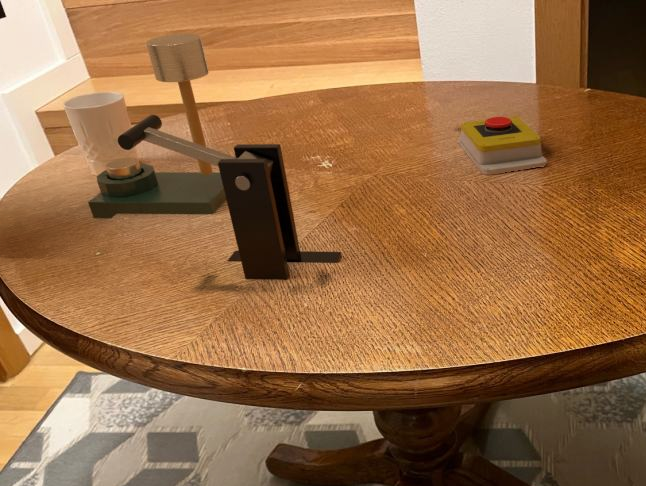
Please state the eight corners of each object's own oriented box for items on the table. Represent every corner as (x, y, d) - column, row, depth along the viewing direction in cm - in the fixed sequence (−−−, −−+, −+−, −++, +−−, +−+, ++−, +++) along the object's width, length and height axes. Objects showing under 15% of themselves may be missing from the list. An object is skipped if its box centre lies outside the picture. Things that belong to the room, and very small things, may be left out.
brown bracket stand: (205, 301, 74) (168, 170, 66) (237, 259, 81) (207, 137, 73) (320, 304, 72) (297, 170, 65) (342, 261, 80) (324, 136, 72)
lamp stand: (174, 182, 90) (136, 46, 81) (194, 164, 95) (160, 34, 86) (220, 182, 90) (187, 44, 81) (238, 164, 95) (208, 33, 86)
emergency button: (515, 104, 110) (550, 135, 98) (515, 133, 112) (549, 166, 100) (455, 111, 108) (483, 143, 96) (456, 140, 110) (483, 175, 98)
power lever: (116, 151, 67) (117, 127, 66) (146, 130, 72) (148, 107, 71) (255, 199, 68) (259, 176, 67) (275, 175, 73) (279, 153, 72)
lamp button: (103, 182, 93) (99, 168, 92) (119, 170, 96) (115, 157, 95) (133, 182, 92) (129, 168, 91) (148, 170, 95) (144, 157, 94)
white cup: (85, 166, 108) (61, 97, 103) (140, 155, 111) (120, 88, 106) (89, 183, 103) (64, 111, 97) (147, 171, 105) (126, 101, 100)
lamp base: (90, 218, 92) (79, 188, 90) (128, 187, 101) (119, 159, 98) (214, 219, 90) (206, 188, 88) (242, 187, 99) (236, 159, 96)
